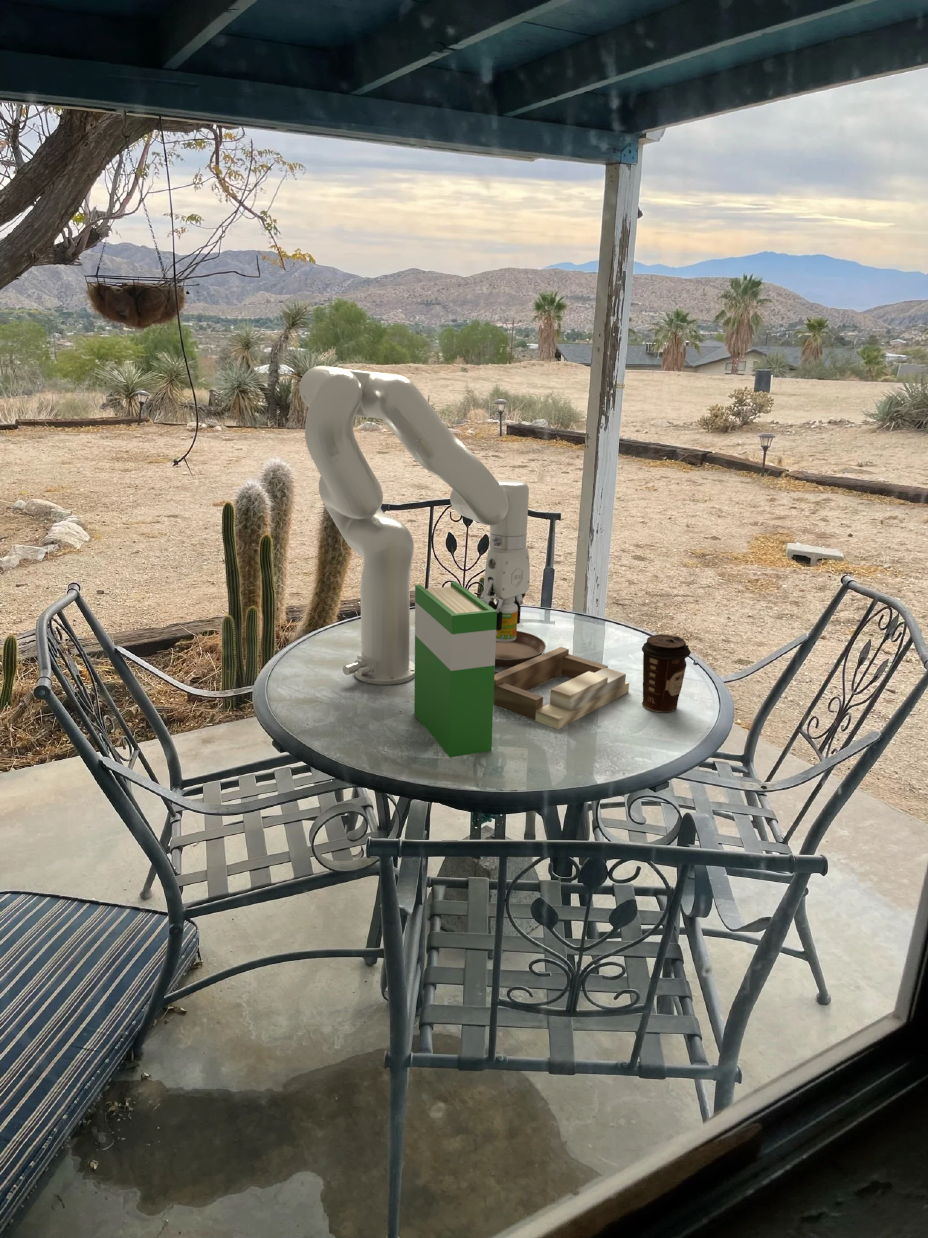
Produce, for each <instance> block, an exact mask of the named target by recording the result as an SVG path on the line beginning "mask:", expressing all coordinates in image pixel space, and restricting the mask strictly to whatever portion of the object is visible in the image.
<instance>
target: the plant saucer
mask: <svg viewBox="0 0 928 1238" xmlns="http://www.w3.org/2000/svg"><path fill="white" fill-rule="evenodd" d="M546 648H547V645H546V643H545V641H544V640H543V639H542V638H541V637H539V636H536V635H535V634H532V633H529V632H525V631H522V630H521V631H520V630H517V634H516V639H515V640H513V641H510V642H500V641H496V648H495V668H511V667H514V666H516V665H518V664H521V663H523V662H526V661H528V660H530V659H533V658H535V657H538V656H540V655H542V654H544V652H545V650H546Z"/></svg>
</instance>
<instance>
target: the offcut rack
mask: <svg viewBox="0 0 928 1238" xmlns="http://www.w3.org/2000/svg"><path fill="white" fill-rule="evenodd" d="M569 649H570V648H566V647H563V646H560V647H557V648H554V649H552V650H551V651H550V650H549V651H548V652H545V653H542V654H541V655H540V656H538V657H535V658H533V659H530V660H528V661H526V662H523V663H521V664H518V665H516V666H514V667H508V668H507V669H504V670H502V671H499V672H497V673H495V674H494V700H493V706H495V707H498V708H500V707H501V708H500V709H503V710H505V709H506V711H509V712H511V713H513V714H517V715H519V716H521V717H524V718H527V719H529V720H532V721H534V722H538V723H539V724H542V725H546V726H549V727H551V728H553V729H556V730H560V729H561V728H562V729H563V728H564V727H566V726H568V725H570V724H571V723H574V722H576V721H577V720H579V719H581V718H582V717H584V716H587V715H588V714H591V713H592V712H594V711H596V710H597V709H599V708H601V707H603V706H605V705H607V704H609V703H611V702H612V701H615V700H616V699H619V698H620V697H622V696H624V695H625V694H627V693H629V690H630V689H629V687H630V682H628V681H626V680H627V679H626V678H627V674H626V673H624V672H621V671H618V670H615V669H612V668H609V667H608V665H605V664H603V663H600V662H596V661H593V660H590V659H586V658H583V657H579V656H577V655H574V654H570V652H569V651H570V650H569ZM560 675H561V676H563V677H567V678H568V679H569V678H570V679H569V680H567V681H565V682H562V683H560V684H559V685H556V686H555V687H552V688H550V695H549V704H546V705H544V696H542V695H539V694H537V693H534V692H531V690H532V689H534V688H536V687H538V686H541V685H543V684H545V683H547V682H549V681H551V680H555V679H557V678H558V677H560Z"/></svg>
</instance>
